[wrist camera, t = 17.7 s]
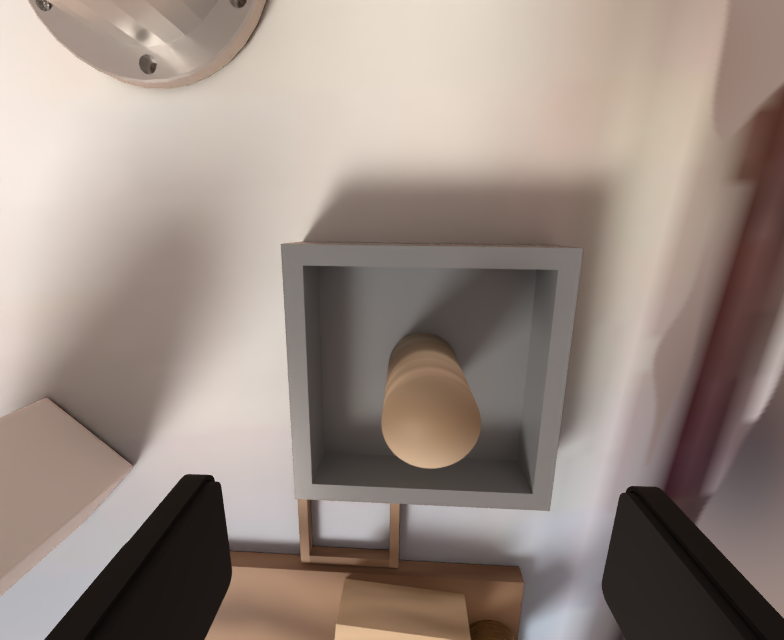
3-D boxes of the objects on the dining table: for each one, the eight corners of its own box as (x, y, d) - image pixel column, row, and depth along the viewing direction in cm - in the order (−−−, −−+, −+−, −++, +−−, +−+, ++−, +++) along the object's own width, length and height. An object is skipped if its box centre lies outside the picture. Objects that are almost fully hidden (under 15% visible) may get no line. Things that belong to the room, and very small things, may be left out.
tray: (302, 241, 21) (280, 243, 18) (554, 245, 21) (583, 248, 17) (311, 460, 25) (294, 499, 21) (529, 469, 24) (549, 510, 20)
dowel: (390, 330, 22) (383, 374, 15) (459, 334, 21) (485, 380, 15) (386, 395, 22) (379, 465, 16) (454, 399, 22) (476, 471, 16)
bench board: (190, 548, 27) (180, 563, 26) (518, 566, 26) (524, 582, 24) (205, 656, 29) (196, 674, 28) (506, 677, 28) (510, 696, 27)
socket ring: (300, 469, 25) (296, 477, 24) (400, 473, 24) (399, 481, 24) (304, 552, 26) (301, 562, 26) (398, 557, 26) (398, 567, 25)
